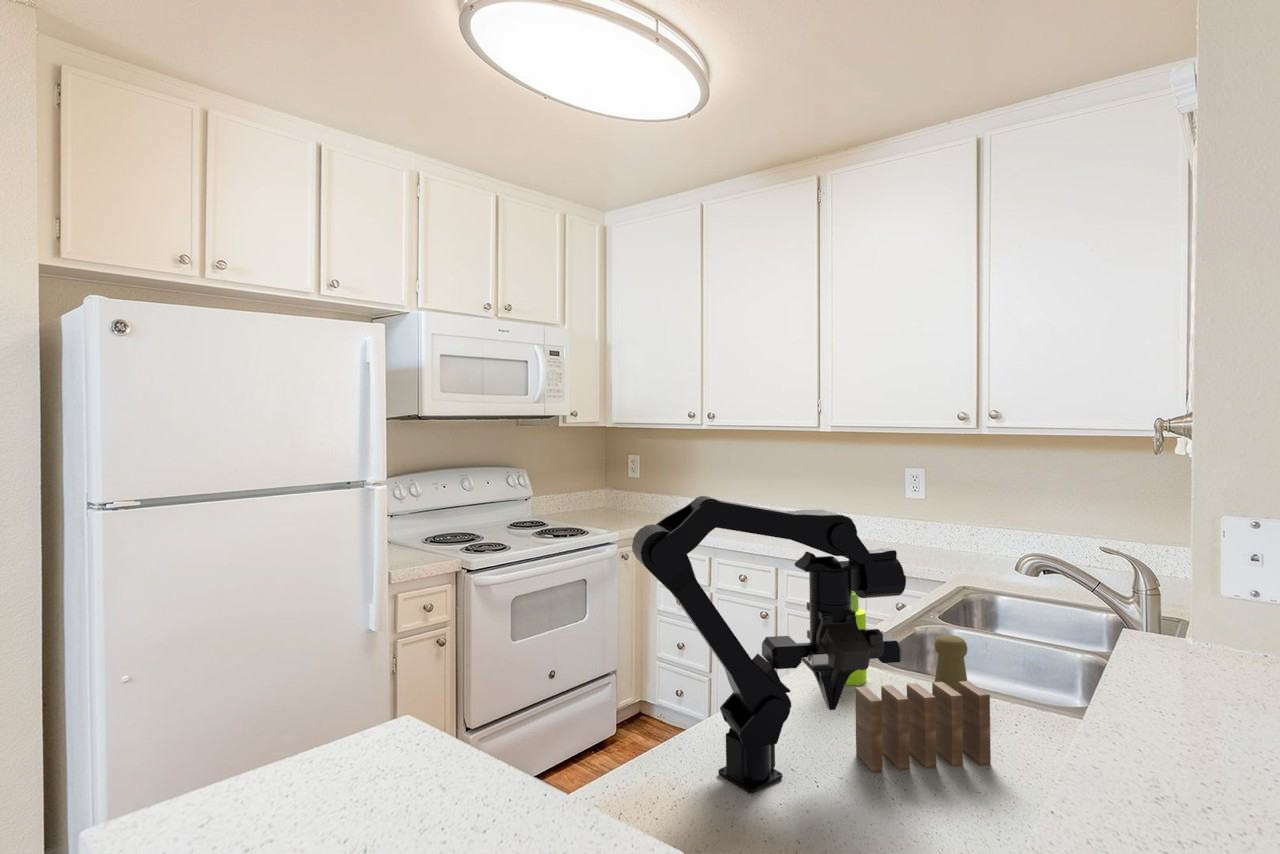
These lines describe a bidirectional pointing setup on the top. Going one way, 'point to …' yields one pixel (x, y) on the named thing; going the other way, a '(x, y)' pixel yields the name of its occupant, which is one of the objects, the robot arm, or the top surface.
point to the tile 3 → (922, 725)
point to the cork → (950, 660)
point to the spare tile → (976, 722)
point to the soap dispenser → (858, 675)
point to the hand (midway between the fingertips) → (831, 709)
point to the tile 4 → (948, 723)
